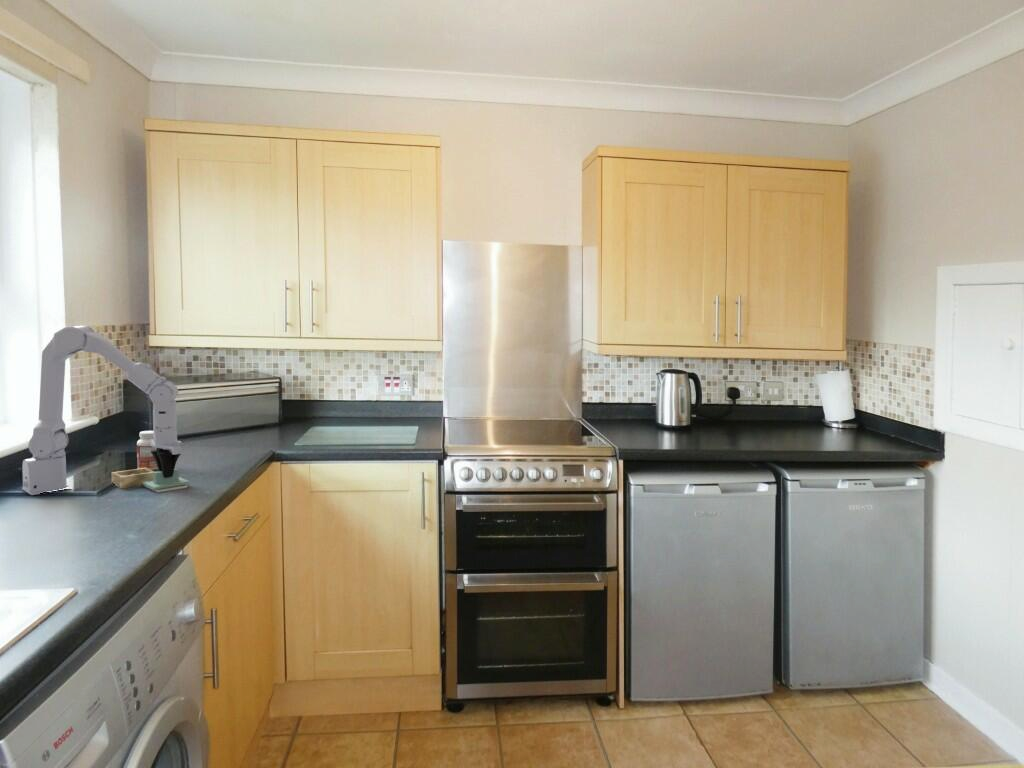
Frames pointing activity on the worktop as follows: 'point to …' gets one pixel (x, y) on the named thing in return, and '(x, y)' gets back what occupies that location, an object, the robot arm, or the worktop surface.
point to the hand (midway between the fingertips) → (166, 476)
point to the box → (131, 477)
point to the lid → (165, 480)
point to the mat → (169, 488)
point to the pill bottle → (146, 451)
